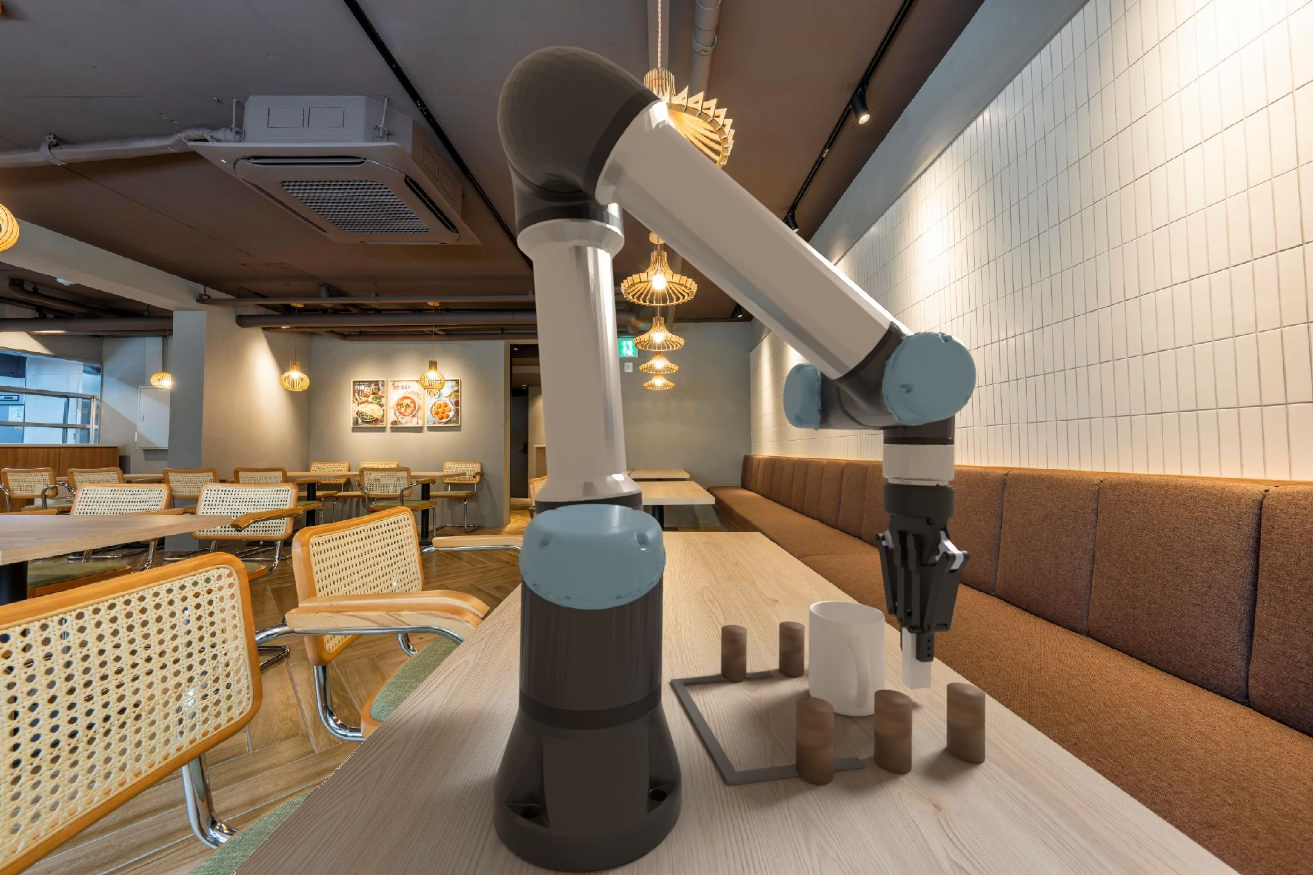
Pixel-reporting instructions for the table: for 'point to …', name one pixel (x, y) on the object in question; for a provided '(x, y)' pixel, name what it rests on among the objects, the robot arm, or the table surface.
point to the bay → (716, 749)
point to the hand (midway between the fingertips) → (916, 685)
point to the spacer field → (888, 712)
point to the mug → (846, 655)
